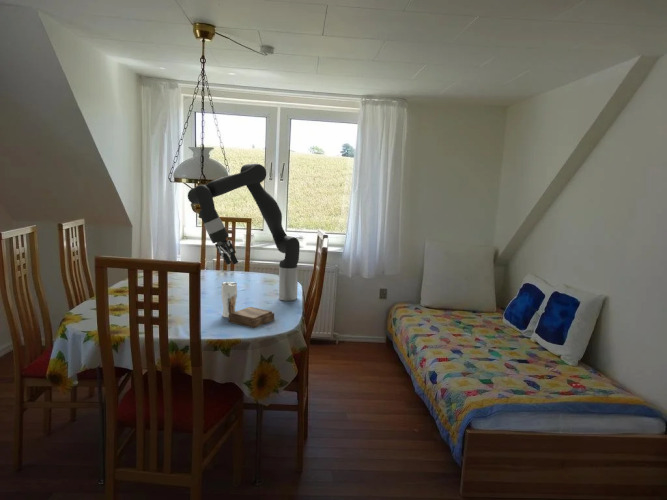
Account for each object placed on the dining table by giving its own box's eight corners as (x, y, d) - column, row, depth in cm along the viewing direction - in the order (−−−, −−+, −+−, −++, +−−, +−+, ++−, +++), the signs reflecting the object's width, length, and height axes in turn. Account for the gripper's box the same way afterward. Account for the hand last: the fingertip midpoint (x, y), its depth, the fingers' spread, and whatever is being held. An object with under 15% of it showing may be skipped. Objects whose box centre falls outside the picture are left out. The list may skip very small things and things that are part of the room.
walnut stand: (249, 314, 205) (249, 306, 204) (274, 319, 198) (274, 311, 198) (228, 322, 193) (228, 313, 192) (253, 328, 186) (254, 318, 186)
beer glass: (218, 315, 202) (218, 283, 200) (231, 312, 207) (231, 281, 205) (226, 319, 197) (226, 286, 195) (240, 316, 202) (240, 284, 200)
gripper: (229, 225, 187) (245, 259, 190) (218, 227, 199) (234, 260, 202) (213, 232, 183) (230, 267, 186) (203, 234, 195) (219, 267, 198)
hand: (232, 263), depth 194 cm, fingers open, 8 cm apart
